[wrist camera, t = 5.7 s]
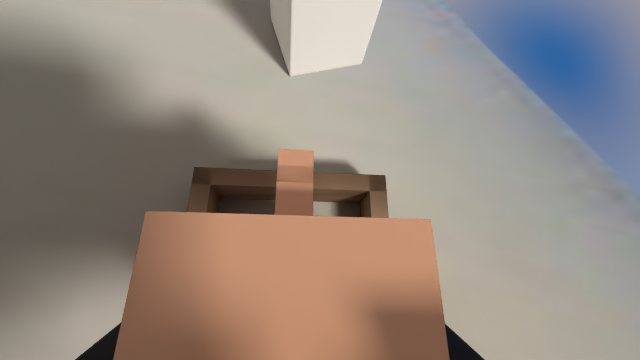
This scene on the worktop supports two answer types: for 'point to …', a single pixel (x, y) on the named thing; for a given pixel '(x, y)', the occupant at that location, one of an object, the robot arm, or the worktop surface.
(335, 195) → the frame
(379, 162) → the worktop surface
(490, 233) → the worktop surface
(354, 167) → the worktop surface
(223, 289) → the peach box with tab
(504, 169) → the worktop surface
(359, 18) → the milk
